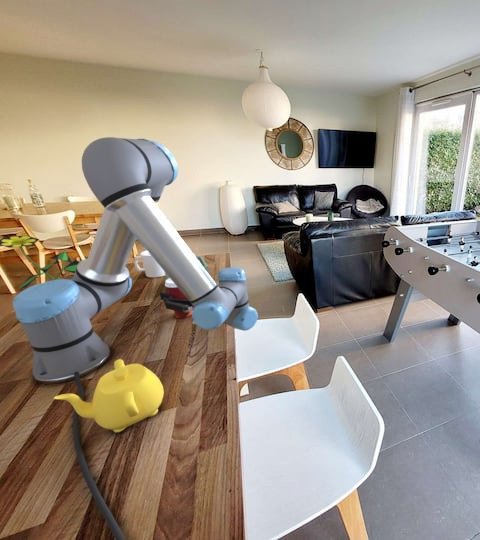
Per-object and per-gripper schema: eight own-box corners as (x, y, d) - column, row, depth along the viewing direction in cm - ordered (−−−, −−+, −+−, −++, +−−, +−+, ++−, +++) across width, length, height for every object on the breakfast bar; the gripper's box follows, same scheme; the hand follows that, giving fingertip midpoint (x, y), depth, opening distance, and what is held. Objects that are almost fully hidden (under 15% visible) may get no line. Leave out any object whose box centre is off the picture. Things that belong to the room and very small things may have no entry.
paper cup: (200, 312, 107) (193, 278, 101) (179, 321, 100) (170, 285, 95) (188, 306, 110) (182, 273, 105) (167, 314, 104) (159, 280, 99)
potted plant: (30, 339, 88) (-14, 247, 77) (40, 314, 101) (3, 231, 90) (105, 321, 99) (77, 237, 87) (105, 300, 112) (80, 225, 101)
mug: (134, 279, 130) (128, 257, 126) (140, 270, 139) (135, 250, 135) (169, 275, 135) (164, 254, 131) (173, 268, 144) (168, 248, 140)
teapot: (122, 388, 72) (109, 350, 68) (180, 389, 73) (170, 352, 68) (72, 439, 59) (51, 396, 55) (142, 440, 60) (127, 398, 55)
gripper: (189, 332, 87) (145, 312, 97) (242, 304, 105) (200, 289, 114) (184, 311, 85) (139, 292, 94) (239, 285, 102) (197, 272, 111)
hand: (173, 291), depth 104 cm, fingers closed on paper cup, 8 cm apart
